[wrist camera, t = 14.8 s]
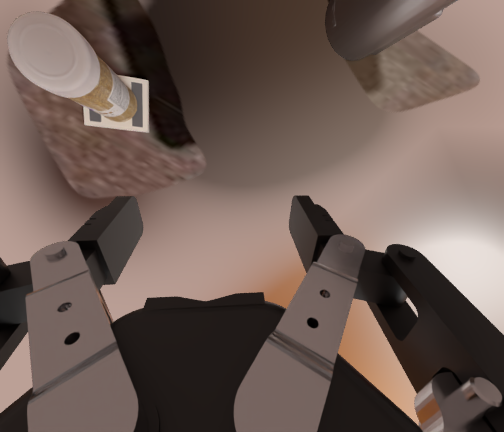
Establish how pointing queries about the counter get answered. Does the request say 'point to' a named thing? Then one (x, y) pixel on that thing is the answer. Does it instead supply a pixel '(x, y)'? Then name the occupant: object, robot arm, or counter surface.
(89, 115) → the letter card
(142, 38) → the counter surface
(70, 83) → the sprinkles bottle
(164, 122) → the counter surface
